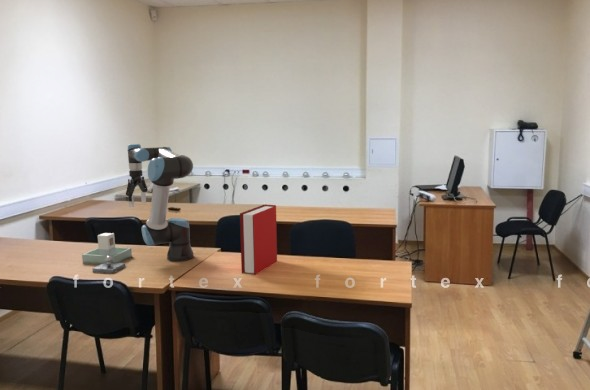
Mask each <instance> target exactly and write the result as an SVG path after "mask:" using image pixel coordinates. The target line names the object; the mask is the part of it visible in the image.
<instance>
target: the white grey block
mask: <svg viewBox="0 0 590 390" xmlns="http://www.w3.org/2000/svg"><path fill="white" fill-rule="evenodd" d="M115 238H116V237H115V233H114V232H112V233H111V232H103V233H100V234H98V235H97V244H98V245H97V246H98V247H97V248H99V255H105V256H114V255H116V252H115V247H116V242H115V240H116V239H115Z"/></svg>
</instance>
